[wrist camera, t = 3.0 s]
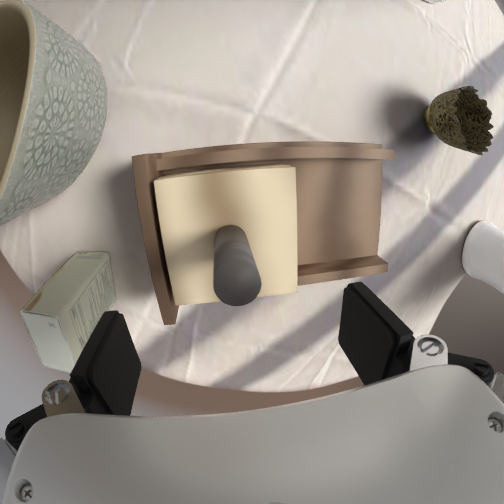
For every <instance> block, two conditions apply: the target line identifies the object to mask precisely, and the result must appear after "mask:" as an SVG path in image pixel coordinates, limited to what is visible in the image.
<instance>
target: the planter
mask: <svg viewBox="0 0 504 504" xmlns="http://www.w3.org/2000/svg"><path fill="white" fill-rule="evenodd" d="M106 114H107V88H106V83H105V79H104V75H103V72H102V70H101V68H100V66H99V64H98V62H97V61H96V59H95V58H94V56H93V55H92V54H91V53H90V52H89V51H88V50H87V49H86V48H85V47H84V46H83V45H82V44H81V43H79V42H78V41H77V40H75V39H74V38H73V37H72V36H70V35H69V34H68V33H66V32H65V31H64V30H63V29H62V28H60V27H59V26H58V25H57V24H55V23H54V22H53V21H51V20H50V19H49V18H47V17H46V16H45V15H43V14H42V13H40V12H39V11H37V10H36V9H34V8H33V7H31V6H30V5H28V4H26V3H24V2H22V1H20V0H4V1H1V2H0V226H2V225H3V224H5V223H7V222H9V221H10V220H12V219H14V218H16V217H17V216H19V215H21V214H23V213H25V212H27V211H29V210H31V209H33V208H35V207H37V206H39V205H41V204H43V203H45V202H47V201H48V200H50V199H52V198H53V197H55V196H57V195H58V194H60V193H61V192H62V191H64V190H65V189H66V188H67V187H69V186H70V185H71V184H72V183H73V182H74V181H75V180H76V179H77V177H78V176H79V175H80V174H81V173H82V171H83V170H84V169H85V167H86V166H87V164H88V163H89V161H90V159H91V158H92V156H93V154H94V152H95V150H96V148H97V146H98V143H99V141H100V138H101V135H102V132H103V129H104V125H105V120H106Z"/></svg>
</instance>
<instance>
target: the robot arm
mask: <svg viewBox="0 0 504 504" xmlns="http://www.w3.org/2000/svg"><path fill="white" fill-rule="evenodd" d="M425 1H427V2H429V3H433V4H440V3H442V2H444V1H446V0H425ZM412 335H413V332H412V331H411V330H410V329H409V328H408V327H407V326H406V325H405V324H404V323H403V322H402V321H401V320H400V319H399V318H398V317H397V316H396V315H395V314H394V313H393V312H392V311H391V310H390V309H389V308H388V307H387V306H386V305H385V304H384V303H383V302H382V301H381V300H380V299H379V298H378V297H377V296H376V295H375V294H374V293H373V292H372V291H371V290H370V289H369V288H368V287H367V286H365V285H364V284H363V283H362V282H356V283H350V284H348V286H347V287H346V288H345V289H344V293H343V303H342V313H341V321H340V329H339V337H338V340H339V344H340V346H341V348H342V349H343V351H344V352H345V354H346V356H347V357H348V359H349V361H350V362H351V364H352V365H353V367H354V369H355V370H356V372H357V374H358V375H359V377H360V378H361V380H362V382H363V383H364V385H365V386H362V387H358V388H354V389H351V390H347V391H344V392H340V393H336V394H332V395H329V396H325V397H321V398H316V399H311V400H307V401H302V402H297V403H292V404H287V405H281V406H275V407H269V408H263V409H256V410H249V411H241V412H232V413H221V414H209V415H194V416H130V414H131V409H132V404H133V400H134V396H135V392H136V388H137V384H138V379H139V375H140V372H141V362H140V359H139V357H138V354H137V352H136V349H135V347H134V344H133V341H132V339H131V336H130V333H129V330H128V327H127V324H126V322H125V319H124V316H123V314H120V313H119V312H118V311H117V310H116V311H105V312H104V313H103V315H102V316H101V318H100V320H99V321H98V323H97V325H96V327H95V328H94V330H93V332H92V334H91V336H90V337H89V339H88V341H87V343H86V345H85V347H84V348H83V350H82V352H81V354H80V356H79V358H78V360H77V362H76V364H75V366H74V368H73V370H72V372H71V374H70V376H71V378H70V380H69V382H68V381H65V380H57V381H54V382H52V383H50V384H49V385H48V386H47V387H46V388H45V389H44V391H43V393H42V401H43V404H42V405H40V406H38V407H36V408H35V409H32V410H30V411H29V412H27V413H25V414H23V415H21V416H19V417H17V418H16V419H14V420H12V421H11V422H10V423H9V424H8V426H7V428H6V431H5V436H6V439H5V440H4V439H3V438H1V439H0V504H504V375H502V374H501V373H497V374H496V375H494V370H493V368H492V366H491V365H490V364H489V363H487V362H486V361H484V360H481V359H477V358H471V357H466V356H461V355H457V354H452V353H448V349H447V345H446V343H445V342H444V341H443V340H442V339H440V338H439V337H437V336H433V335H421V336H419V337H417V338H416V339H415V338H414V337H413V336H412Z"/></svg>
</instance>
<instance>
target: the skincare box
mask: <svg viewBox="0 0 504 504" xmlns="http://www.w3.org/2000/svg"><path fill="white" fill-rule="evenodd" d="M115 301H116V294H115V287H114V281H113V275H112V269H111V263H110V257H109V253H107V252H90V251H81V252H77V253H76V254H75V255H74V256H72V257H71V258H70V259H69V260H68V261H67V262H66V263H65V264H64V265H63V266H62V267H61V268H60V269H59V270H58V271H57V272H56V273H55V274H54V275H53V276H52V277H51V278H50V279H49V280H48V281H47V282H46V283H45V284H44V285H43V286H42V287H41V289H40V290H39V291H38V292H37V293H36V294H35V295H34V296H33V297H32V298H31V300H30V301H29V302H28V303H27V304H26V305H25V306H24V307H23V309H22V310H21V315H22V318H23V321H24V324H25V326H26V329H27V331H28V334H29V335H30V339H31V341H32V343H33V345H34V347H35V349H36V352H37V354H38V356H39V358H40V359H41V361H42V363H43V365H44V366H46V367H50V368H54V369H57V370H61V371H65V372H70V373H71V372H72V370H73V368H74V366H75V364H76V362H77V360H78V358H79V356H80V354H81V352H82V350H83V348H84V347H85V345H86V343H87V341H88V339H89V337H90V336H91V334H92V332H93V330H94V328H95V327H96V325H97V323H98V321H99V320H100V318H101V316H102V315H103V313H104V312H105V311H111V309H112V307H113V305H114V303H115Z"/></svg>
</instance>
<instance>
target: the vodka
mask: <svg viewBox="0 0 504 504" xmlns="http://www.w3.org/2000/svg"><path fill="white" fill-rule="evenodd" d="M462 263H463V267H464V269H465V271H466V273H467V274H469V275H471V276H472V277H474V278H478V279H480V280H482V281H484V282H486V283H488V284H490V285H492V286H493V287H495V288H497V289H498V290H499V291H501V292H502V293H503V294H504V231H502V230H500V229H499V228H497V227H496V225H494V224H492V223H491V222H488V221H480V222H478V223H477V224H475V225H474V226H473V228H472V229H471V231H470V232H469V234H468V236H467V238H466V240H465V243H464V247H463V253H462Z"/></svg>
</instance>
